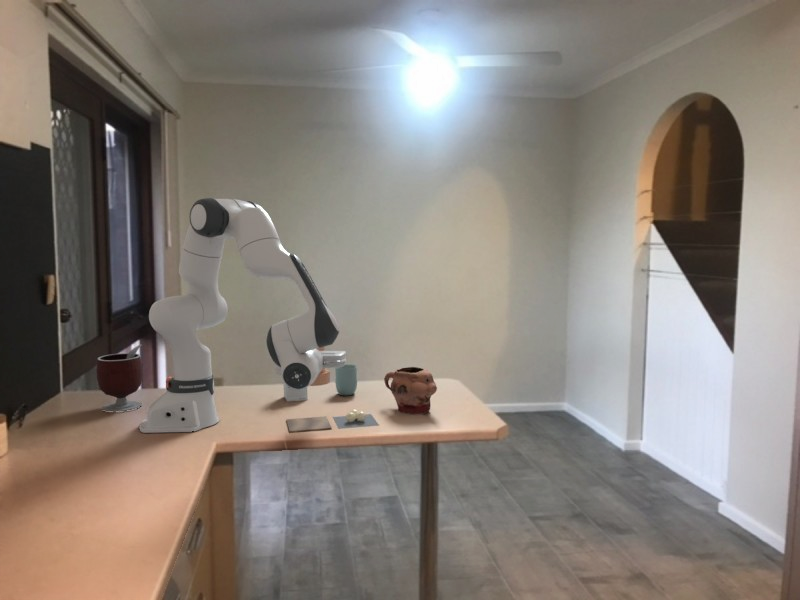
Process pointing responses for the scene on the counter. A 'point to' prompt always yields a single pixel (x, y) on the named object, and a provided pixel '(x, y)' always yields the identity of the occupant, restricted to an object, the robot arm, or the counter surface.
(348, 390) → the cup
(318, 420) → the walnut coaster
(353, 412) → the marble
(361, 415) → the marble
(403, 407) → the sculpted character mug
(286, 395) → the supplement box
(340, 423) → the slate mat
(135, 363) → the mate gourd
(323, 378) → the tan stepped cylinder
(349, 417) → the marble
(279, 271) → the robot arm
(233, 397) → the counter surface
